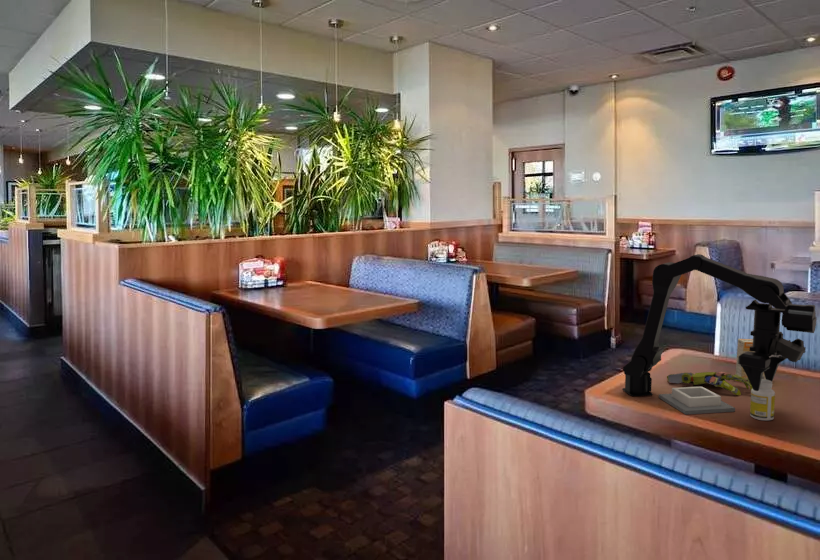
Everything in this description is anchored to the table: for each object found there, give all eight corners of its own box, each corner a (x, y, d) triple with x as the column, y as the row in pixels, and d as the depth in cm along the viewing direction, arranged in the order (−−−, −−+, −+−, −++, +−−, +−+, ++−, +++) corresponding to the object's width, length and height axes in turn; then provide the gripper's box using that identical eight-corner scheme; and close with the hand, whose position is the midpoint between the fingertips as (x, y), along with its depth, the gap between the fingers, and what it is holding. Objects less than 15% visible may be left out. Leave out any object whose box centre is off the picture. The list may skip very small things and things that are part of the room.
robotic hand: (672, 372, 193) (761, 370, 178) (674, 395, 192) (764, 395, 177) (662, 374, 183) (755, 371, 168) (664, 398, 182) (758, 398, 167)
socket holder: (685, 414, 159) (686, 401, 158) (658, 397, 173) (659, 385, 172) (735, 411, 160) (735, 399, 160) (704, 394, 174) (704, 383, 174)
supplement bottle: (765, 413, 158) (767, 377, 157) (778, 420, 153) (780, 383, 152) (745, 414, 158) (747, 378, 157) (757, 421, 153) (759, 384, 152)
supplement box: (740, 383, 184) (742, 341, 183) (735, 378, 189) (737, 338, 187) (769, 383, 183) (772, 342, 181) (763, 379, 188) (765, 338, 186)
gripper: (789, 339, 140) (785, 402, 143) (814, 326, 153) (810, 385, 155) (739, 331, 149) (735, 392, 151) (766, 320, 161) (763, 376, 163)
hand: (762, 386), depth 155 cm, fingers open, 9 cm apart
